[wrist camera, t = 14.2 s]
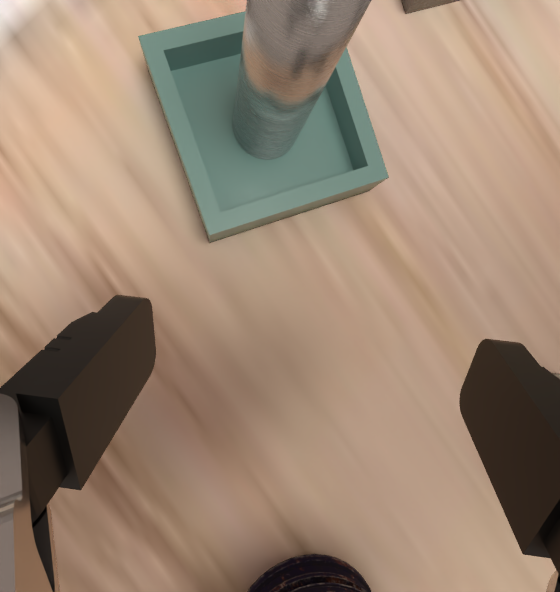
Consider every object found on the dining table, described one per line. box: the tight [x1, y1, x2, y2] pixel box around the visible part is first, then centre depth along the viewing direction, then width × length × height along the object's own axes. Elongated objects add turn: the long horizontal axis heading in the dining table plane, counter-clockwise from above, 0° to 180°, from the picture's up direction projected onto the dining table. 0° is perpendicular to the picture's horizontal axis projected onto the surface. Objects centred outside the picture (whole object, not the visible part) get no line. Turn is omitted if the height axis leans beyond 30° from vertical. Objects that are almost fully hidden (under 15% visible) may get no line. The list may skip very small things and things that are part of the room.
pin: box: [232, 0, 371, 160], centre depth 17 cm, size 4×4×14 cm
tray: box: [138, 11, 389, 243], centre depth 23 cm, size 11×11×3 cm
